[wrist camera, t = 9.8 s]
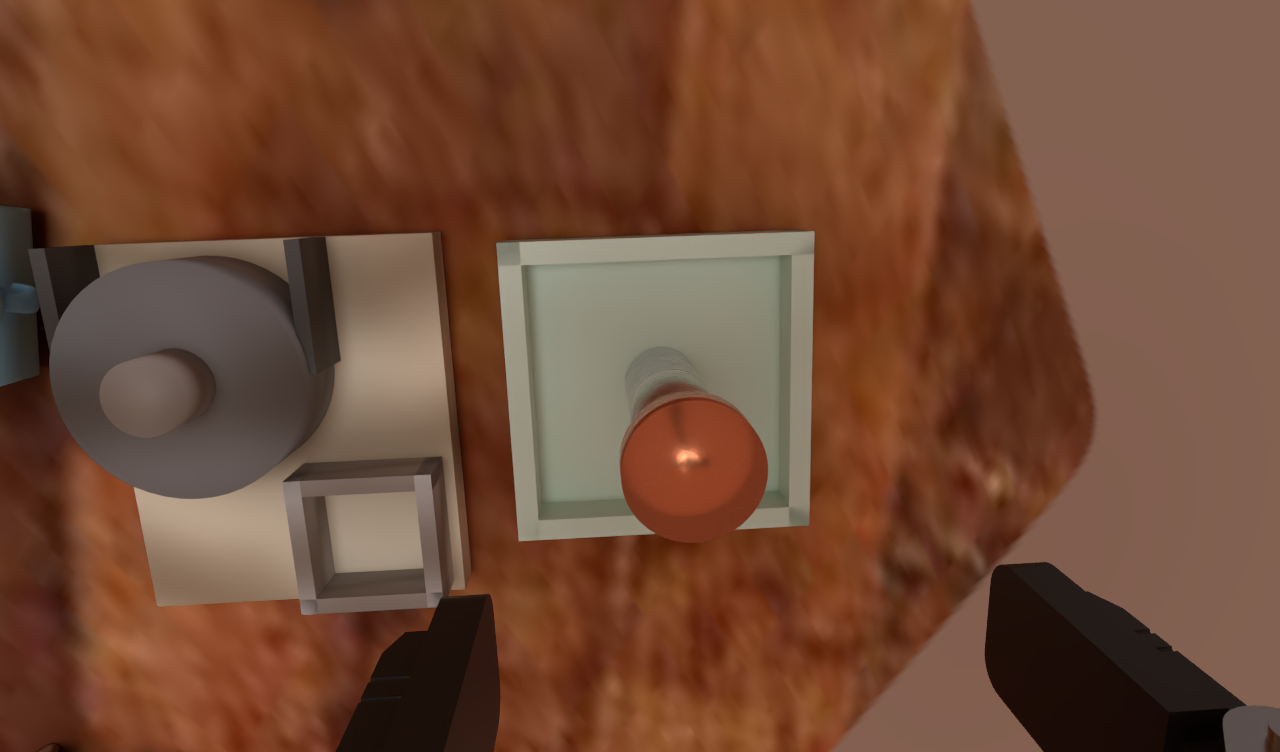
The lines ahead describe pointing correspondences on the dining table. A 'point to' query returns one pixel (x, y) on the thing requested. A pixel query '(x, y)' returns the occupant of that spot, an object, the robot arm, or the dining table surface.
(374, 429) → the pulley board
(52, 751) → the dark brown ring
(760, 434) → the tray
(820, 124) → the dining table surface
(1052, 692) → the robot arm
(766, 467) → the pin
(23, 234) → the teapot
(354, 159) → the dining table surface
